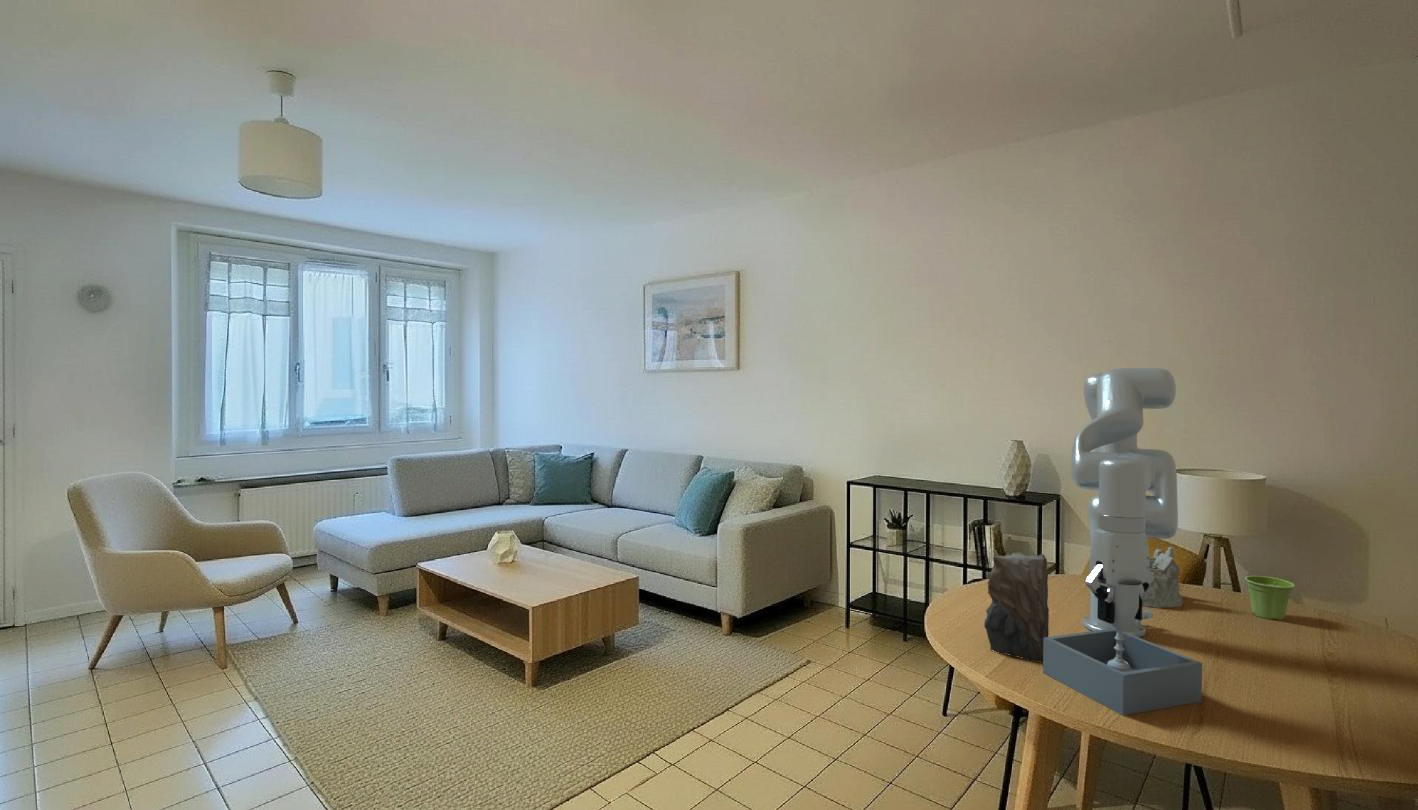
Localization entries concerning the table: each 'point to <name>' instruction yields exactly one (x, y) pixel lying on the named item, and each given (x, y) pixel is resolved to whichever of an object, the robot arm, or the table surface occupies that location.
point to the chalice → (1123, 619)
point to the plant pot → (1269, 596)
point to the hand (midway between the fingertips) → (1119, 618)
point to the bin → (1145, 688)
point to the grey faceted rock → (1018, 605)
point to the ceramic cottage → (1163, 581)
